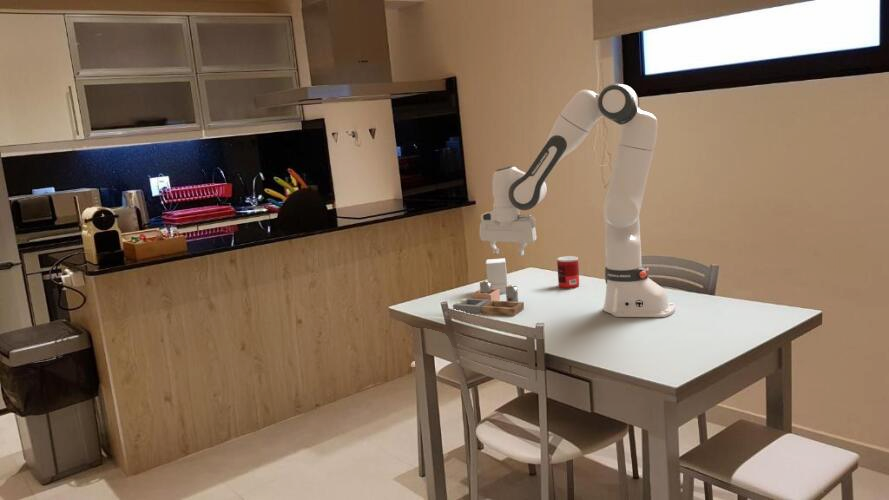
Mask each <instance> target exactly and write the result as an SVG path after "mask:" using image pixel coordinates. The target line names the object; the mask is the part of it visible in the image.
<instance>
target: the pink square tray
mask: <svg viewBox="0 0 889 500" xmlns="http://www.w3.org/2000/svg"><path fill="white" fill-rule="evenodd" d="M491 290H492V293H490V294H485V293H480V288H479V289H478V290H476V291H474V292H472V299H490V301H501V296H500V295H501V294H500V292H499V289H491Z"/></svg>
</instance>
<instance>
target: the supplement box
mask: <svg viewBox="0 0 889 500" xmlns="http://www.w3.org/2000/svg"><path fill="white" fill-rule="evenodd" d="M485 267H486V268H485V269H486V276H487V277H486V279H487V280H486V281H489V282H491V289H499V292H500V295H506V287H507V286H509V285H508V273H507V264H506V258H505V257H504V258H493V259H491V258H489V259H486V260H485Z"/></svg>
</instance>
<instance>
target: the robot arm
mask: <svg viewBox="0 0 889 500" xmlns="http://www.w3.org/2000/svg"><path fill="white" fill-rule="evenodd" d="M602 118H607V119H608V120H610V121H613V122H614V123H616V124H618V125H619V126H620V134H619V140H618V143H617V148H616V153H615V156H614V160H613V164H612V169H611V173H610V178H609V183H608V187H607V192H606V195H605V199H604V202H603V216H604V239H605V240H604V241H605V242H604V243H605V244H604V246H605V264H606V265H605V267H604V279H605V280H604V281H605V284H606V287H605V288H606V291H605V297H604V304H603V306H602V307H603V308H602V309H603V311H604V312H606V313H609V314H611V315H612V316H614V317H618V318H664V317H665V318H666V317H669V316H670V315H672V314H673V313H674V312H676V304H675V303H673V302H669V299H668V295H667V292H666V289H664V288H663V286H661V285H659V284H658V283H656V282H655V281H653V280H652V279H651V278H649V267H647V268H646V267H644V265H642V245H641V243H642V240H641V225H640V223H641V222H640V214H641V210H642V204H643V200H644V195H645V191H646V187H647V182H648V176H649V172H650V169H651V164H652V160H653V156H654V153H655V147H656V143H657V138H658V137H657V136H658V126H659V123H658V119H657V117H656V116H655V115H654V114H653V113H650V112H648V111H645V110H642V109H640V99H639V95H638V94H637V92H636V91H635V90H634V89H633V88H632V87H631V86H629V85H627V84H624V83H623V84H622V83H612V84H609V85H607V86H605V87H604V88H603V89H602V90H601V92H600V93H597V92H595V91H593V90H590V89H581V90H579V91H577V92H576V93H575V94H574V95H573V97H572V98H571V99H570V100H569V101H568V102H567V103H566V105H565V106H564V108H563V109H562V110H561V111H560V114H559V115H558V117H557V118H556V121H555V122H554V124H553V126H552V128H551V129H550V132H549V135H548V137H547V139H546V141H545V143H544V145H543V148H541V150H540V152H539V154H538V155H537V157H536V158H535V159H534V161H533V162H532V164H531V165H530V167H529V168H528V170H527V171H526V172H524V171H523V170H520V169H518V168H517V167H516V166H515V165H511V166H504V167H501V168H498V169H496V170H495V171H494V173H493V175H492V196H493V206H492V207H493V209H491V210H490V211H487V212H484V213H482V214H481V215H480V220H481V221H480V224H479V232H478V233H479V239H480V240H481V241H482V242H489V245H490V247H491V249H492V254H493V255H499V254H500V248H499V247H497V245H496V244H497V242H499V243H500V242H501V243H520V244H519V245H520V246H521V247H520V248H519V249H518V250H517V256H524V255H525V250H526V247H527V245H528V244H532V243H534V242H535V241H536V240H537V237H538V236H537V230H536V219H535V217H534V216H532V215H531V214H521V213H520V210H521V211H528V210H531V209H533V208H534V207H536V205H537V204H539V203H541V201H543V200H544V198H546V196H547V193H548V187H547V183H546V180H547V179H548V177H549V176H550V174H551V172H552V171H553V170H554V168H555V167H556V166H557V164H558V163H559V162H560V161H561V160H562V159H563V158H564V157H566V156H568V155H569V154H570V153H571V152H573V151H575V150H576V149H577V148H578V147H579V146H580V145H581V144H582V143H583V142H584V140H585V139H586V138H587V137H588V135H589V134H590V132H591V131H592V129H593V127H594V126H595V124H597V122H598V121H599V120H600V119H602Z"/></svg>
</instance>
